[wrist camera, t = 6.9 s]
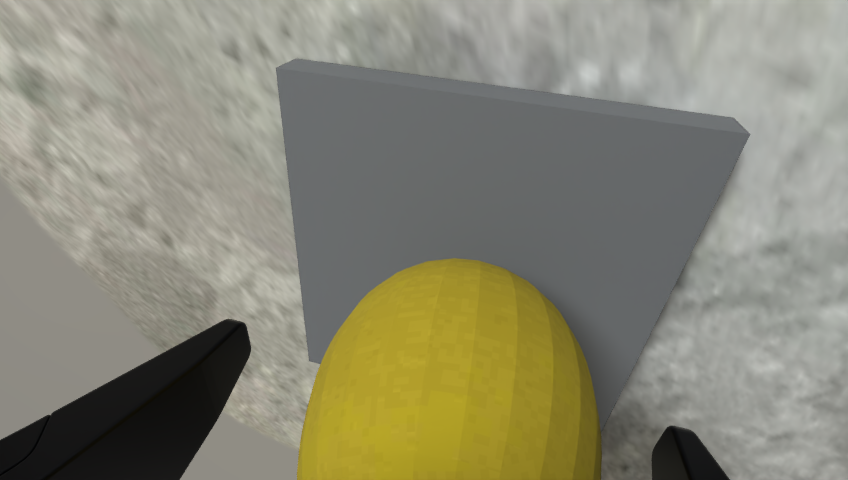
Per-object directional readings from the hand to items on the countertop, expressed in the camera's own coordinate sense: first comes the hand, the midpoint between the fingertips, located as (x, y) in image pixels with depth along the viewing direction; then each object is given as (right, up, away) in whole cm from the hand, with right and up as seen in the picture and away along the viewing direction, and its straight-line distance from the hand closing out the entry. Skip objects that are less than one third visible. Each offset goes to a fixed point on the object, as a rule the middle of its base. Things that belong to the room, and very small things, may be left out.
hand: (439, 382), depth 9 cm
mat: (+1, +2, +4) cm, 4 cm away
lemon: (+1, +2, +3) cm, 4 cm away
